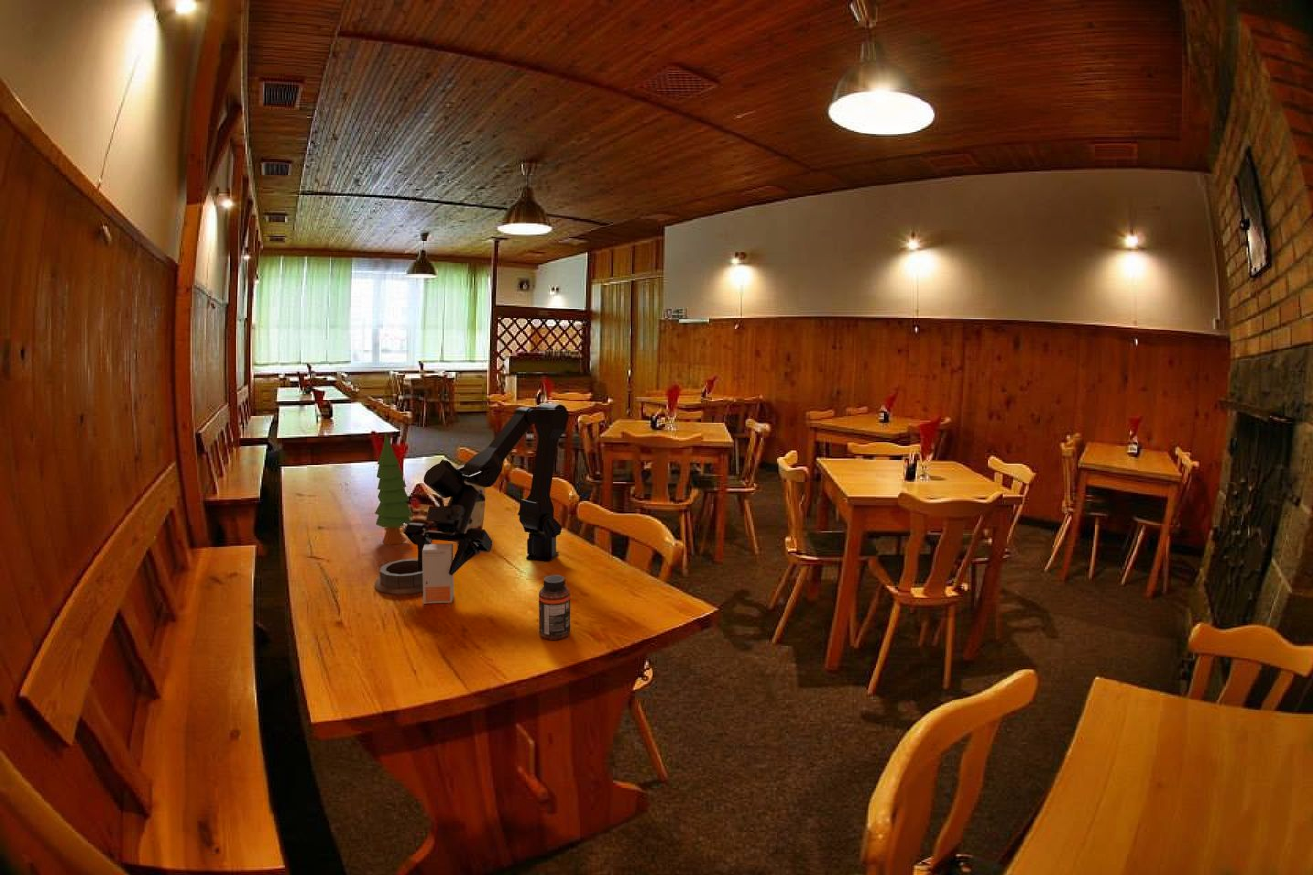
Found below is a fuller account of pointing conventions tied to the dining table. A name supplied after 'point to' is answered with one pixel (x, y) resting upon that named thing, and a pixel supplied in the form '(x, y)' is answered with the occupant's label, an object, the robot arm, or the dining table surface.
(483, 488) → the food model
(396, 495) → the decorative tree
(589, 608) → the dining table surface
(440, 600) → the skincare box
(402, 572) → the stone fire pit
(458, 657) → the dining table surface
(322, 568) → the dining table surface
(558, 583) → the supplement bottle
